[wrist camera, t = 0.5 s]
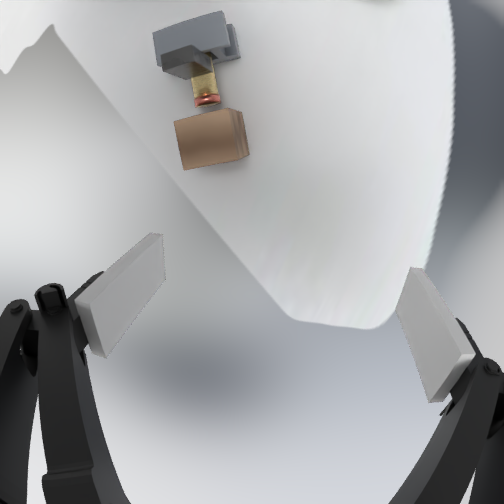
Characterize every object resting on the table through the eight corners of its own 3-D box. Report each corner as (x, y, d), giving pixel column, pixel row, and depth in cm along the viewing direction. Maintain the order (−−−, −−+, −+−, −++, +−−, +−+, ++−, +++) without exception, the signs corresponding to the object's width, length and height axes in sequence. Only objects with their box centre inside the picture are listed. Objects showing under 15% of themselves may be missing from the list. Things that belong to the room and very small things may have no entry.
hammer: (185, 32, 29) (153, 9, 21) (209, 24, 29) (184, -2, 20) (199, 108, 34) (168, 103, 25) (224, 102, 33) (200, 94, 25)
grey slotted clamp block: (174, 45, 32) (152, 32, 26) (234, 28, 31) (221, 10, 24) (179, 73, 34) (157, 65, 28) (240, 57, 32) (228, 43, 26)
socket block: (196, 122, 37) (173, 121, 30) (241, 112, 36) (228, 108, 28) (204, 162, 39) (183, 170, 32) (249, 154, 38) (237, 160, 31)
